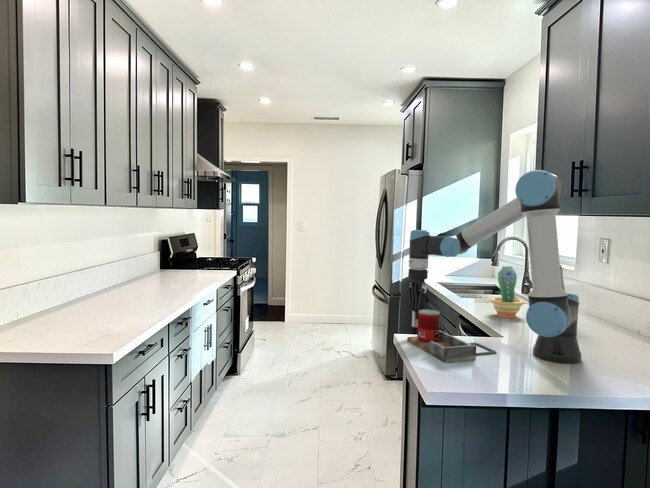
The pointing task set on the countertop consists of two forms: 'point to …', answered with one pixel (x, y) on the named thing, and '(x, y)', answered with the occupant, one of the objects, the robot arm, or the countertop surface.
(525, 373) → the countertop surface
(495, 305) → the potted cactus
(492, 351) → the frame
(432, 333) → the canned food
